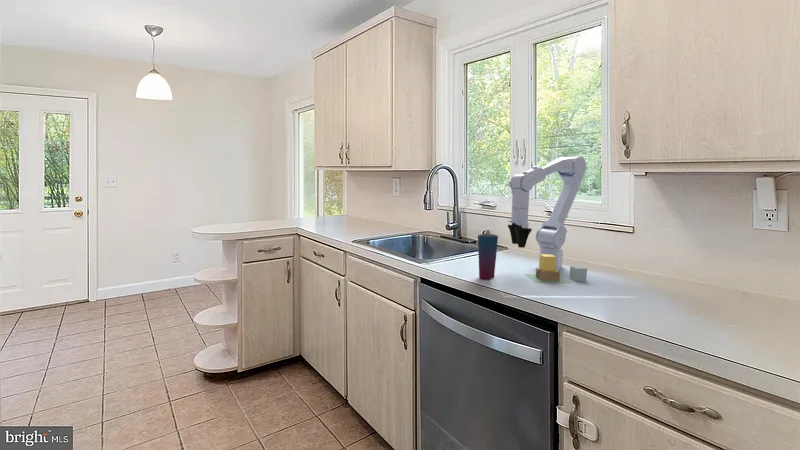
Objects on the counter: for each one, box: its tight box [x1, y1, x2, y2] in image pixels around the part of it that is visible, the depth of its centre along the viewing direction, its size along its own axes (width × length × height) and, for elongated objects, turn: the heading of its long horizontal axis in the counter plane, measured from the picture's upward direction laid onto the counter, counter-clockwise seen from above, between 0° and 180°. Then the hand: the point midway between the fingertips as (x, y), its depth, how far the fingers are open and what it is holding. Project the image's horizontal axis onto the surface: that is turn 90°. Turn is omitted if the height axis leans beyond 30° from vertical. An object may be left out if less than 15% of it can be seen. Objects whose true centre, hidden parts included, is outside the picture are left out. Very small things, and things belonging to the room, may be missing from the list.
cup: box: [477, 233, 499, 281], centre depth 146 cm, size 7×7×15 cm
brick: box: [569, 265, 588, 282], centre depth 144 cm, size 4×4×5 cm
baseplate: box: [524, 273, 572, 284], centre depth 145 cm, size 12×12×1 cm
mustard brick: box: [538, 254, 556, 271], centre depth 145 cm, size 4×4×5 cm
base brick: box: [535, 268, 561, 281], centre depth 145 cm, size 6×6×3 cm
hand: (518, 245), depth 153 cm, fingers open, 7 cm apart
